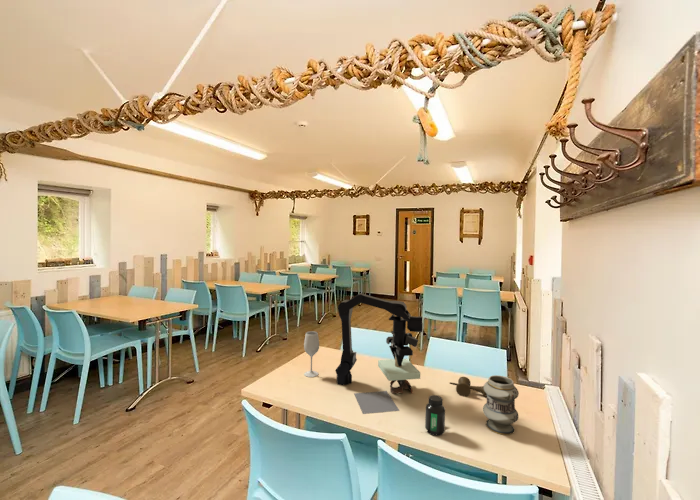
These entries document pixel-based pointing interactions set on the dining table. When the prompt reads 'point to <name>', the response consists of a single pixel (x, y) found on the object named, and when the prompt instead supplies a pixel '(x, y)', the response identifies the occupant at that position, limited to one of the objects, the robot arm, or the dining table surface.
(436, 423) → the supplement bottle
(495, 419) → the apothecary jar
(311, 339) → the wineglass
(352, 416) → the dining table surface
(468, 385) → the kendama
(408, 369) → the lid
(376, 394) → the mat
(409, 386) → the pottery mug
